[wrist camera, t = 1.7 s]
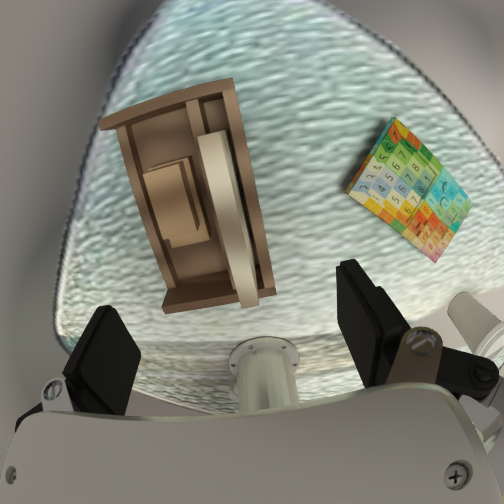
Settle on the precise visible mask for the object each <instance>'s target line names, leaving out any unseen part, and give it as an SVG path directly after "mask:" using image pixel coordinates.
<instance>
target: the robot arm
mask: <svg viewBox="0 0 504 504" xmlns="http://www.w3.org/2000/svg"><path fill="white" fill-rule="evenodd" d="M336 281H337V320H338V324H339V327H340V330H341V332H342V334H343V336H344V339H345V341H346V344H347V346H348V348H349V351H350V353H351V355H352V358H353V360H354V363H355V365H356V368H357V370H358V372H359V375H360V377H361V380H362V382H363V385H364V387H365V389H361V390H357V391H352V392H348V393H344V394H340V395H336V396H332V397H327V398H323V399H318V400H313V401H309V402H303V403H300V401H299V396H298V392H297V387H296V382H295V377H294V372H295V371H296V370H297V368H298V366H299V363H300V358H299V353H298V351H297V349H296V348H295V346H294V345H292V344H291V343H290V342H287V341H285V340H283V339H279V338H273V337H263V338H256V339H252V340H249V341H247V342H244V343H242V344H241V345H239V346H238V347H237V348H236V349H234V351H233V352H232V353H231V355H230V358H229V369H230V372H231V373H232V375H233V376H234V377H235V378H237V383H236V384H235V387H234V388H232V389H231V390H230V391H229V392H228V393H227V395H228V397H229V398H230V399H232V400H235V399H236V398H237V397H238V396H239V413H230V414H219V415H206V416H186V417H140V416H124V415H125V411H126V408H127V404H128V400H129V397H130V393H131V390H132V386H133V383H134V379H135V376H136V372H137V369H138V366H139V362H140V359H141V352H140V350H139V348H138V346H137V345H136V343H135V342H134V340H133V338H132V337H131V335H130V333H129V332H128V330H127V328H126V327H125V325H124V323H123V321H122V320H121V318H120V316H119V314H118V312H117V311H116V309H115V308H113V307H112V306H111V305H105V306H99V307H98V308H97V309H96V311H95V312H94V314H93V316H92V318H91V319H90V321H89V323H88V325H87V326H86V328H85V330H84V332H83V334H82V335H81V337H80V339H79V341H78V343H77V345H76V346H75V348H74V350H73V352H72V354H71V356H70V358H69V360H68V362H67V364H66V366H65V368H64V370H63V372H62V374H63V375H64V376H65V377H66V380H65V381H64V380H63V379H62V378H58V377H57V378H53V379H51V380H50V381H48V382H47V383H46V384H45V386H44V387H43V389H42V392H41V400H42V402H41V403H40V404H38V405H37V406H35V407H34V408H32V409H31V410H30V411H28V412H27V413H25V414H24V415H22V416H21V417H20V418H18V420H17V422H16V427H15V434H14V433H13V434H12V435H11V436H10V437H9V439H8V440H7V441H6V442H5V443H4V444H3V445H2V447H1V448H0V504H503V501H502V496H503V494H504V377H501V376H500V375H499V371H498V368H497V366H496V365H495V363H494V362H493V361H491V360H490V359H488V358H485V357H482V356H478V355H474V354H470V353H466V352H462V351H459V350H455V349H451V348H447V347H444V346H443V341H442V339H441V336H440V335H439V334H438V333H437V332H436V331H434V330H433V329H430V328H428V327H414V328H412V329H411V327H410V326H409V324H408V323H407V321H406V320H405V318H404V317H403V316H402V314H401V313H400V311H399V310H398V308H397V307H396V306H395V304H394V303H393V301H392V300H391V299H390V297H389V296H388V295H387V293H386V292H385V290H384V289H383V288H382V287H381V286H378V287H375V285H374V284H373V282H372V281H371V280H370V278H369V277H368V276H367V274H366V273H365V271H364V270H363V269H362V267H361V266H360V265H359V263H358V262H357V261H356V260H355V259H350V260H346V261H341V262H340V266H337V267H336ZM472 422H473V423H474V424H473V423H472ZM475 427H476V428H477V429H478V430H479V431H480V432H481V433H482V435H483V438H484V442H483V443H482V442H481V439H480V437H479V435H478V433H477V431H476V429H475Z"/></svg>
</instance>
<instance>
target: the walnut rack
mask: <svg viewBox="0 0 504 504" xmlns="http://www.w3.org/2000/svg"><path fill="white" fill-rule="evenodd" d="M98 121H99V126H100V130H101V131H103V130H112V129H116V131H117V135H118V139H119V143H120V147H121V151H122V155H123V158H124V162H125V166H126V169H127V173H128V176H129V180H130V183H131V186H132V190H133V193H134V196H135V199H136V203H137V206H138V209H139V212H140V215H141V218H142V221H143V224H144V227H145V230H146V232H147V235H148V238H149V241H150V244H151V246H152V249H153V252H154V255H155V257H156V260H157V262H158V265H159V268H160V270H161V273H162V275H163V278H164V280H165V283H166V285H167V288H168V290H167V293H166V296H165V298H164V301H163V304H162V309H163V311H164V313H165V314H170V313H176V312H183V311H189V310H195V309H202V308H208V307H213V306H219V305H225V304H230V303H236V302H240V301H239V297H238V293H237V290H236V286H235V283H234V279H233V275H232V272H231V268H230V264H229V261H228V257H227V253H226V249H225V246H224V242H223V238H222V234H221V230H220V227H219V223H218V219H217V215H216V211H215V207H214V203H213V199H212V195H211V191H210V187H209V183H208V179H207V175H206V171H205V167H204V163H203V159H202V155H201V151H200V146H199V142H198V138H197V137H199V136H203V135H206V134H210V133H214V132H218V131H222V130H228V135H229V139H230V144H231V148H232V153H233V158H234V162H235V167H236V171H237V176H238V180H239V185H240V189H241V194H242V198H243V203H244V208H245V212H246V217H247V221H248V226H249V230H250V235H251V240H252V248H253V256H254V265H255V273H256V281H257V290H258V298H263V297H268V296H273V295H277V294H276V288H275V283H274V278H273V272H272V267H271V262H270V257H269V251H268V246H267V241H266V236H265V231H264V226H263V221H262V216H261V210H260V205H259V200H258V196H257V191H256V186H255V181H254V176H253V171H252V166H251V161H250V156H249V152H248V147H247V142H246V137H245V133H244V128H243V123H242V119H241V114H240V110H239V105H238V100H237V96H236V91H235V87H234V82H233V78H227V79H222V80H218V81H213V82H209V83H205V84H201V85H197V86H193V87H189V88H186V89H182V90H179V91H175V92H172V93H169V94H166V95H163V96H159V97H156V98H153V99H151V100H148V101H145V102H142V103H139V104H137V105H134V106H131V107H129V108H126V109H124V110H121V111H119V112H116V113H114V114H111V115H109V116H107V117H104V118H102V119H100V120H98ZM190 155H192V159H193V163H194V167H195V171H196V175H197V179H198V183H199V187H200V191H201V194H202V198H203V202H204V206H205V210H206V213H207V217H208V221H209V224H210V228H211V237H210V240H207V241H203V242H198V243H193V244H189V245H184V246H180V247H175V248H172V246H171V243H170V240H169V239H165V240H163V238H162V235H161V232H160V229H159V226H158V223H157V220H156V217H155V213H154V210H153V207H152V204H151V201H150V197H149V194H148V191H147V187H146V184H145V181H144V177H143V174H144V173H146V172H148V169H149V168H151V167H152V166H155V165H158V164H161V163H165V162H168V161H172V160H175V159H179V158H182V157H186V156H190Z"/></svg>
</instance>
